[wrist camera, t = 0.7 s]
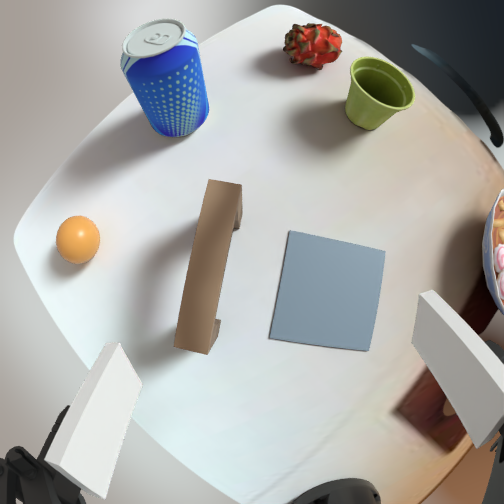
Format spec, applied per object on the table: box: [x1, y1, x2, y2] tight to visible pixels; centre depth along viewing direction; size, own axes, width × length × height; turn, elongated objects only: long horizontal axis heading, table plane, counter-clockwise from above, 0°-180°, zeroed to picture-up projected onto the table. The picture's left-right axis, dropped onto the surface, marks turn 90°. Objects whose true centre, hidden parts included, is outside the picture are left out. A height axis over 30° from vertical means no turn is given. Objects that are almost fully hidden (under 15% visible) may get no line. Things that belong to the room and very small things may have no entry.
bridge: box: [174, 179, 242, 355], centre depth 28 cm, size 3×15×10 cm, turn 169°
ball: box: [56, 216, 100, 264], centre depth 30 cm, size 6×6×6 cm
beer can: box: [121, 19, 209, 137], centre depth 28 cm, size 8×8×16 cm
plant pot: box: [345, 57, 415, 130], centre depth 33 cm, size 9×9×9 cm
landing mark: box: [270, 230, 385, 351], centre depth 33 cm, size 13×13×1 cm
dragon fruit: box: [283, 23, 342, 70], centre depth 35 cm, size 8×8×12 cm
